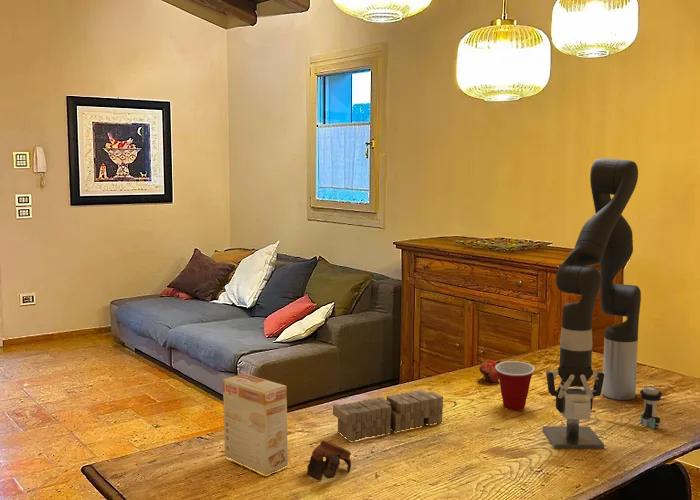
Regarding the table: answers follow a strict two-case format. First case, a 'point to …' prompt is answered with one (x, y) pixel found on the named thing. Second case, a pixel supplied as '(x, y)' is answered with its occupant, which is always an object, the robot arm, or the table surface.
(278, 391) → the coffeecake box
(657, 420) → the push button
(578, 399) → the grey hollow block
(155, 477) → the table surface
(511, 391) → the plastic cup
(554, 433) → the gray square plate
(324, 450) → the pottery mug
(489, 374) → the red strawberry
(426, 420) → the block tower
